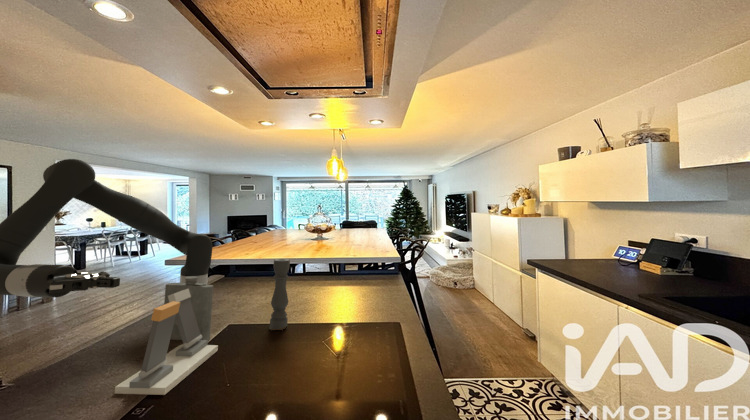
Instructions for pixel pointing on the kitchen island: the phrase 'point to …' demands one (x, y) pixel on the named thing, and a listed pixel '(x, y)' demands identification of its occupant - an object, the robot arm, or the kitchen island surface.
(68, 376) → the kitchen island surface
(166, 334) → the orange lever
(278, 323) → the candle holder
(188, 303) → the grey lever
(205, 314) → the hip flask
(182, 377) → the switch panel
